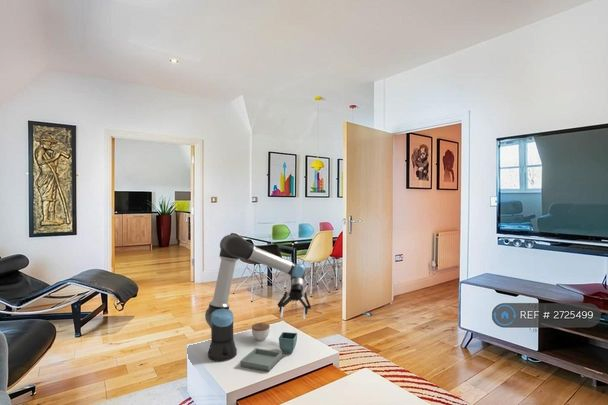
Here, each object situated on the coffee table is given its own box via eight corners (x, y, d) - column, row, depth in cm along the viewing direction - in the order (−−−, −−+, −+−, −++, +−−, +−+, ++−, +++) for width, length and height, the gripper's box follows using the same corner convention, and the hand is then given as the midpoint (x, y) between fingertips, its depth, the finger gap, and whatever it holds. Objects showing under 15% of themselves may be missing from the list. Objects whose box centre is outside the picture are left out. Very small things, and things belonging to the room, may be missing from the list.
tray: (240, 366, 165) (240, 360, 165) (255, 353, 180) (255, 347, 180) (268, 372, 160) (268, 365, 160) (282, 357, 175) (282, 352, 175)
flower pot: (294, 355, 177) (294, 339, 177) (278, 354, 179) (278, 337, 179) (297, 348, 186) (297, 333, 186) (282, 347, 187) (282, 331, 187)
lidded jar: (273, 337, 202) (273, 322, 202) (261, 343, 193) (261, 327, 193) (259, 333, 208) (259, 319, 208) (248, 339, 199) (248, 324, 199)
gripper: (317, 290, 208) (313, 322, 193) (279, 289, 213) (273, 320, 198) (316, 284, 203) (312, 316, 188) (276, 282, 207) (270, 314, 193)
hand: (292, 318), depth 193 cm, fingers open, 13 cm apart
